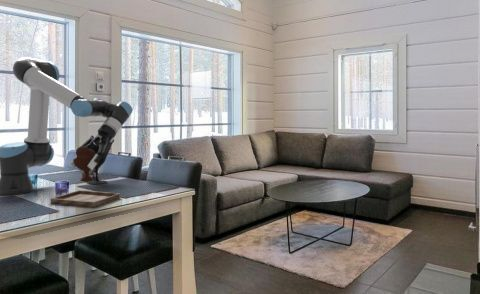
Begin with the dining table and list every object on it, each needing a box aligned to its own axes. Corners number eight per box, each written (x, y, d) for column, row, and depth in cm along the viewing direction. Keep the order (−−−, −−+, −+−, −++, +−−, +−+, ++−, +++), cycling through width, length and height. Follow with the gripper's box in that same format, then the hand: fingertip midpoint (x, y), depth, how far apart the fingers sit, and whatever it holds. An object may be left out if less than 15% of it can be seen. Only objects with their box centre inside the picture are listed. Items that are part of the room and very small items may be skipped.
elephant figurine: (71, 176, 208) (80, 153, 216) (80, 187, 220) (88, 164, 227) (85, 178, 208) (93, 155, 215) (93, 188, 220) (101, 165, 227)
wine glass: (100, 185, 200) (99, 147, 198) (82, 184, 202) (81, 147, 200) (110, 181, 210) (109, 145, 208) (93, 180, 212) (92, 145, 210)
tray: (50, 203, 160) (50, 198, 159) (79, 194, 177) (79, 190, 177) (94, 207, 153) (94, 202, 153) (120, 198, 171) (120, 193, 170)
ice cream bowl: (84, 183, 157) (83, 147, 155) (68, 180, 162) (67, 146, 161) (105, 179, 166) (104, 145, 164) (89, 176, 171) (88, 144, 170)
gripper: (131, 135, 169) (104, 174, 158) (97, 133, 181) (70, 169, 170) (122, 124, 164) (93, 163, 153) (87, 123, 176) (58, 159, 165)
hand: (81, 166), depth 161 cm, fingers closed on ice cream bowl, 11 cm apart
